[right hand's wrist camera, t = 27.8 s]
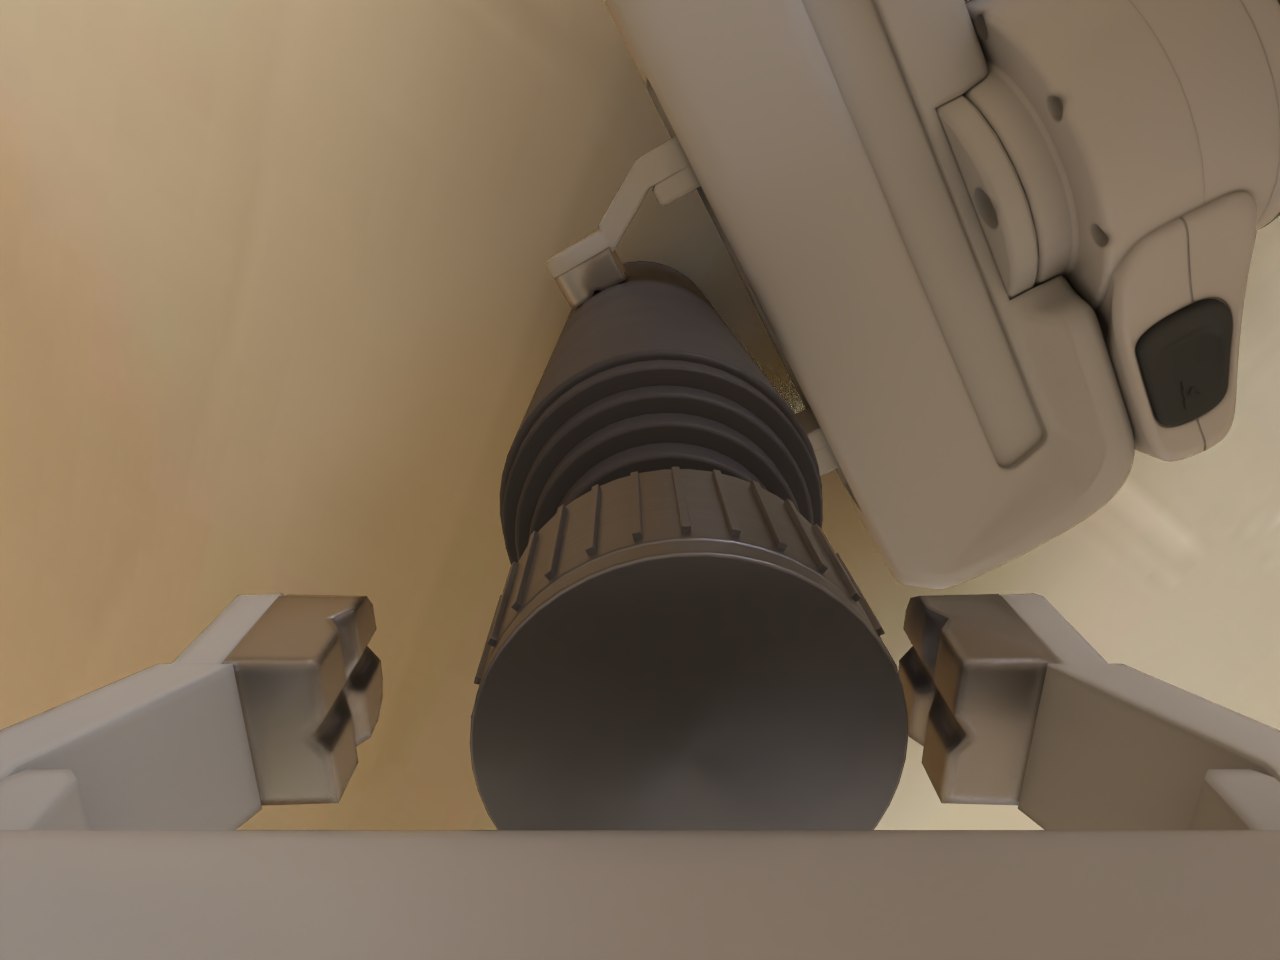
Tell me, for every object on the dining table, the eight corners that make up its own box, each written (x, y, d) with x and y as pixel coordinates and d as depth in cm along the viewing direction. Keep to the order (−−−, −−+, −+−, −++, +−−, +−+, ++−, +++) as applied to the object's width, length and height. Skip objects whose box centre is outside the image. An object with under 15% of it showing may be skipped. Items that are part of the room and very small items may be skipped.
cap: (924, 580, 10) (1010, 693, 7) (719, 824, 11) (743, 982, 9) (622, 391, 9) (622, 456, 7) (435, 676, 10) (382, 811, 8)
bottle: (744, 321, 29) (1056, 654, 8) (656, 436, 30) (727, 977, 9) (624, 229, 28) (627, 342, 7) (538, 353, 29) (325, 758, 8)
